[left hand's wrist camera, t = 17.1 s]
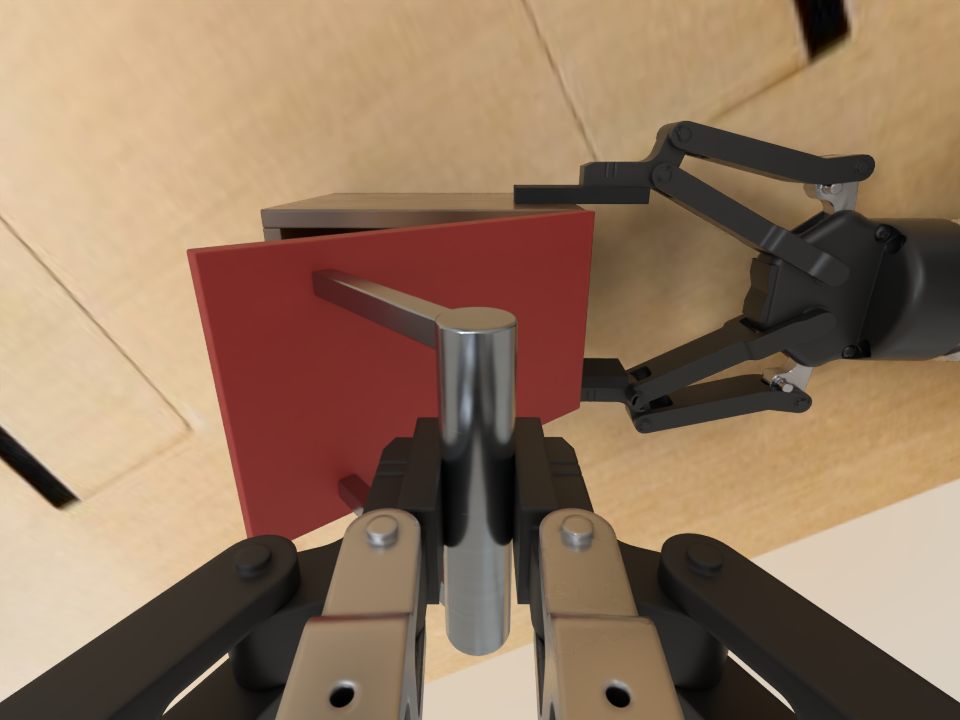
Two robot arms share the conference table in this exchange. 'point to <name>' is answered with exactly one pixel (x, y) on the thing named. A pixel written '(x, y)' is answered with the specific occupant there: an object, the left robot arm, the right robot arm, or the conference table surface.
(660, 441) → the conference table surface
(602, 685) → the left robot arm
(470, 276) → the lid
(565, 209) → the chest
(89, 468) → the conference table surface
